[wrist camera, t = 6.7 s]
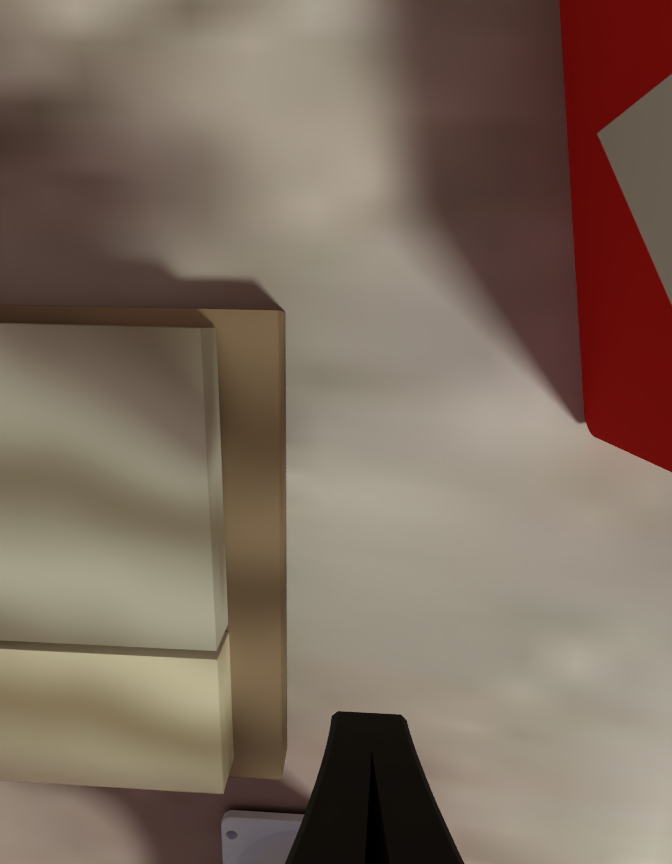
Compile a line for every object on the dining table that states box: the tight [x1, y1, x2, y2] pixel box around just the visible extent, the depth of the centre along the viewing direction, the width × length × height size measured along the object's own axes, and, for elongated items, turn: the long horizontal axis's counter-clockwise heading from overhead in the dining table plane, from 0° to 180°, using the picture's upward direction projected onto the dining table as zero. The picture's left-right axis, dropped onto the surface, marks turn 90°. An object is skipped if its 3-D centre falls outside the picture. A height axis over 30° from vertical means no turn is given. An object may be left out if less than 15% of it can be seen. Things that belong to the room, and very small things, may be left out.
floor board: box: [0, 305, 287, 794], centre depth 17 cm, size 19×18×3 cm
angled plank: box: [0, 323, 228, 651], centre depth 15 cm, size 11×14×2 cm
